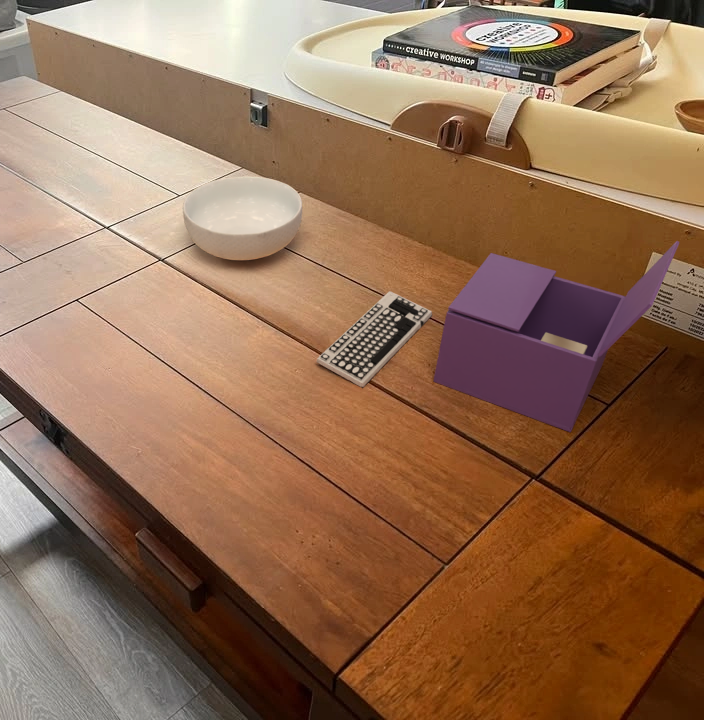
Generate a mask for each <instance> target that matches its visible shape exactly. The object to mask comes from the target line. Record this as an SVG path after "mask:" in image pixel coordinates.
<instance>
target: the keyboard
mask: <svg viewBox="0 0 704 720" xmlns="http://www.w3.org/2000/svg"><path fill="white" fill-rule="evenodd" d="M431 317H433V311H432V310H430V309H428V308H427V307H424V306H422V305H420V304H417V303H415V302H413V301H411V300H410V299H408V298H405V297H403V296H401V295H399V294H397V293H395V292H393V291H391V290H389V291H388V292H387V293H386V294H384V295H383V296H382V297H381V298H380V299H379V300H378V301H377V302H376V303H375V304H374V305H373V306H372V307H371V308H370V309H368V310H367V311H366V312H365V313H364V314H363V315H362V316H360V318H358V320H357V321H356V322H355V323H353V324H352V325H351V326H350V327H349V328H348V329H347V330H346V331H345V332H344V333H343V334H342V335H341V336H339V337H338V338H337V339H336V340H335V341H334V342H333V343H332V344H331V345H330V346H329V347H327V348H326V349H325V351H323V352H322V353H321V354H320V355H319V356H317V358H316V363H317V364H319V365H321V366H323V367H324V368H326V369H328V370H330V371H331V372H334V373H335V374H337V375H339V376H340V377H342V378H344V379H346V380H348V381H350V382H351V383H353V384H355V385H357V386H359V387H360V388H362V389H364V388H365V387H366V386H367V384H368V383H369V382H370V381H371V380H372V379H373V378H374V377H375V376H376V375H377V374H379V372H380V371H381V370H382V369H383V368H384V367H385V366H386V364H388V362H390V361H391V360H392V358H393V357H394V356H395V355H396V354H397V353H398V352H399V351H400V350H401V349H402V348H403V347H404V346H405V345H406V344H407V343H408V341H410V339H412V337H413V336H414V335H415V334H417V332H418V331H419V330H420V329H421V328H422V327H423V326H424V325H425V324H426V323H427V322H428V321H429V320H430V319H431Z"/></svg>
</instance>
